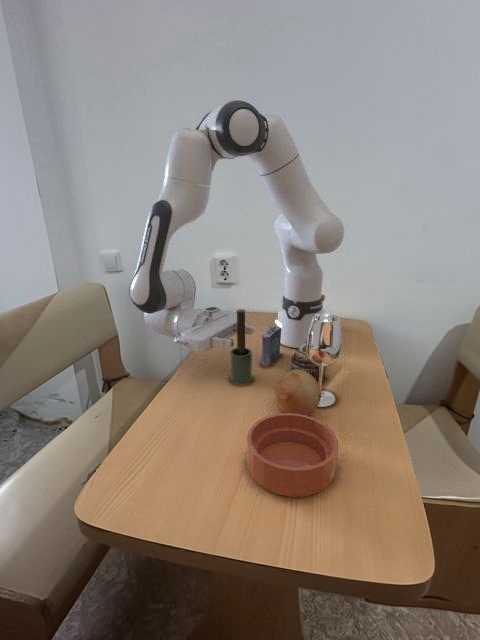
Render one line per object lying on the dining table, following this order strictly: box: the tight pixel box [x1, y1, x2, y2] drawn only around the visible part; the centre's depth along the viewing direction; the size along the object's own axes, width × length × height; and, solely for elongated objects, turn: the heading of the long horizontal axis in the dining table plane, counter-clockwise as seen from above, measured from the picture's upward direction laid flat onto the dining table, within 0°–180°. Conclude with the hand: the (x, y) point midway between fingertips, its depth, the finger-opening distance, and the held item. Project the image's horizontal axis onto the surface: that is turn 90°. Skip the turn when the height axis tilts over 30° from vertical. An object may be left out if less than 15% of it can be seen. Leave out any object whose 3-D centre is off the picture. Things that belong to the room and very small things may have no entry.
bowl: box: [246, 412, 339, 498], centre depth 65 cm, size 15×15×6 cm
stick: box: [236, 309, 246, 355], centre depth 91 cm, size 2×2×18 cm
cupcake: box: [290, 342, 329, 383], centre depth 94 cm, size 10×10×10 cm
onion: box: [274, 369, 322, 416], centre depth 80 cm, size 10×10×10 cm
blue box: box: [261, 323, 281, 367], centre depth 103 cm, size 9×3×11 cm, turn 151°
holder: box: [230, 347, 253, 384], centre depth 93 cm, size 5×5×8 cm
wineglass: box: [305, 312, 343, 408], centre depth 83 cm, size 8×8×20 cm
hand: (242, 337), depth 90 cm, fingers open, 8 cm apart
